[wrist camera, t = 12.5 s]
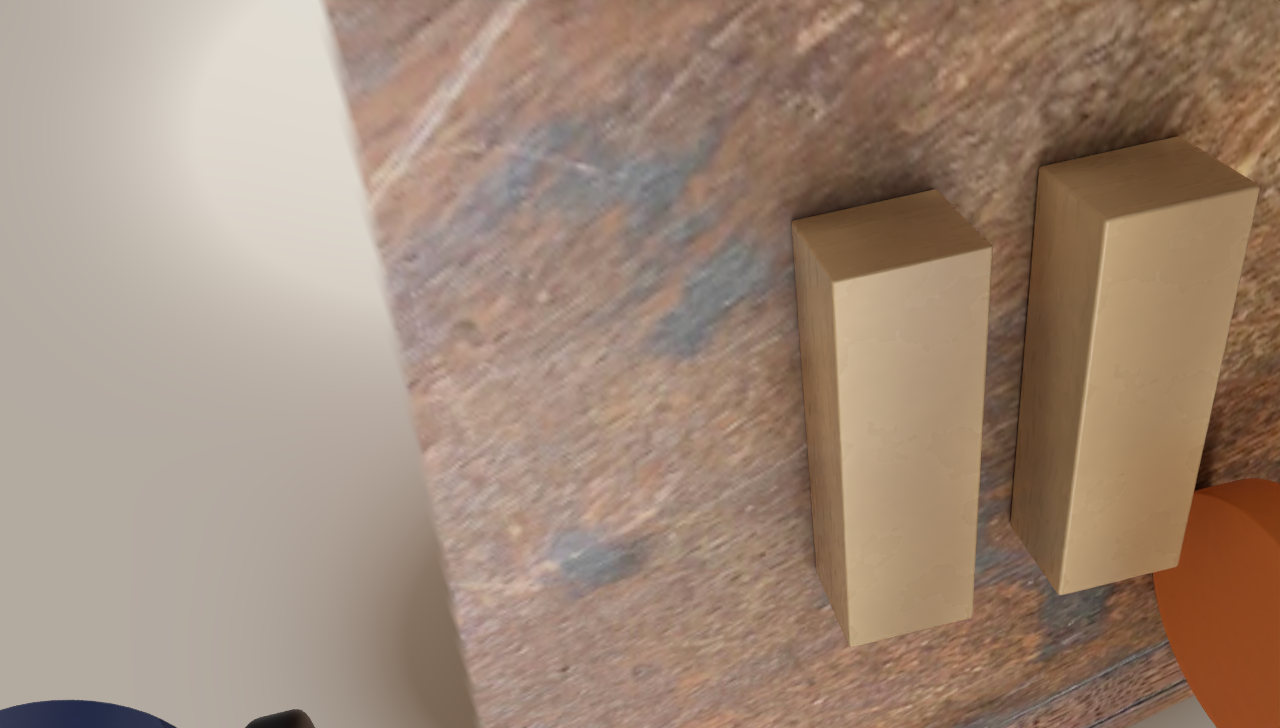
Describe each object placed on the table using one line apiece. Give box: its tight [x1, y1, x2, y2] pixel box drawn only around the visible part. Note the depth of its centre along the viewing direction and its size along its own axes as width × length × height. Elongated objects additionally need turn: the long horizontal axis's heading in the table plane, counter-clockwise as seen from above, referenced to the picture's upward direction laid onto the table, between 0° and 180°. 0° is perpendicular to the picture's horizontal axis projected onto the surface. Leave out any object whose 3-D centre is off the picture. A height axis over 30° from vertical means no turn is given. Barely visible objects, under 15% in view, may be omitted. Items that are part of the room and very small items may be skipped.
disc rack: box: [791, 137, 1260, 647], centre depth 22 cm, size 8×10×2 cm
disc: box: [1153, 478, 1280, 728], centre depth 25 cm, size 2×7×7 cm, turn 9°
